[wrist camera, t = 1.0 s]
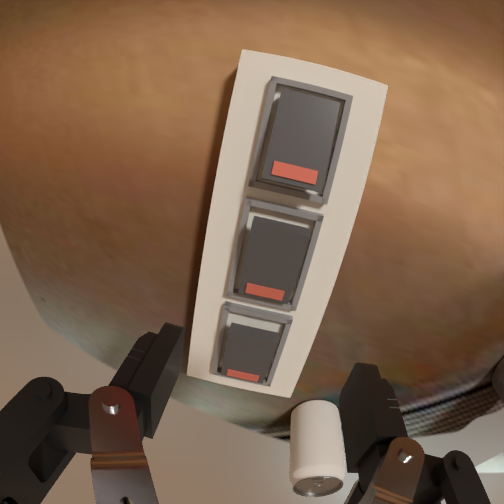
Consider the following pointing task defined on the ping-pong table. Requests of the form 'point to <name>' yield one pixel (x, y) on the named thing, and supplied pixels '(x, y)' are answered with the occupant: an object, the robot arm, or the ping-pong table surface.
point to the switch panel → (279, 214)
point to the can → (316, 449)
